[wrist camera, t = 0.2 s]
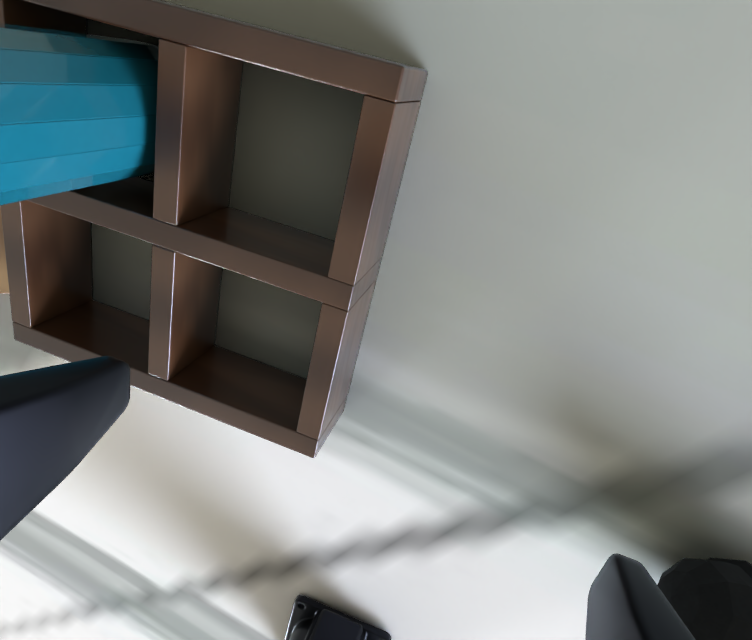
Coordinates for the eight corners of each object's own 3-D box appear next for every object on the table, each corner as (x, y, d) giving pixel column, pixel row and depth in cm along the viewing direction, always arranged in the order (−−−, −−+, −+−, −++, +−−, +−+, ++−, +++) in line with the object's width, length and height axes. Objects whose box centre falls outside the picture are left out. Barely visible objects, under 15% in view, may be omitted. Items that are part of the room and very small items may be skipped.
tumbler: (197, 183, 24) (-110, 266, 13) (100, 152, 25) (-272, 204, 14) (206, 59, 22) (-162, 23, 10) (98, 29, 23) (-355, -35, 11)
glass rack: (343, 411, 27) (314, 459, 23) (76, 310, 29) (13, 340, 26) (428, 70, 20) (404, 66, 16) (63, -26, 22) (-27, -48, 19)
